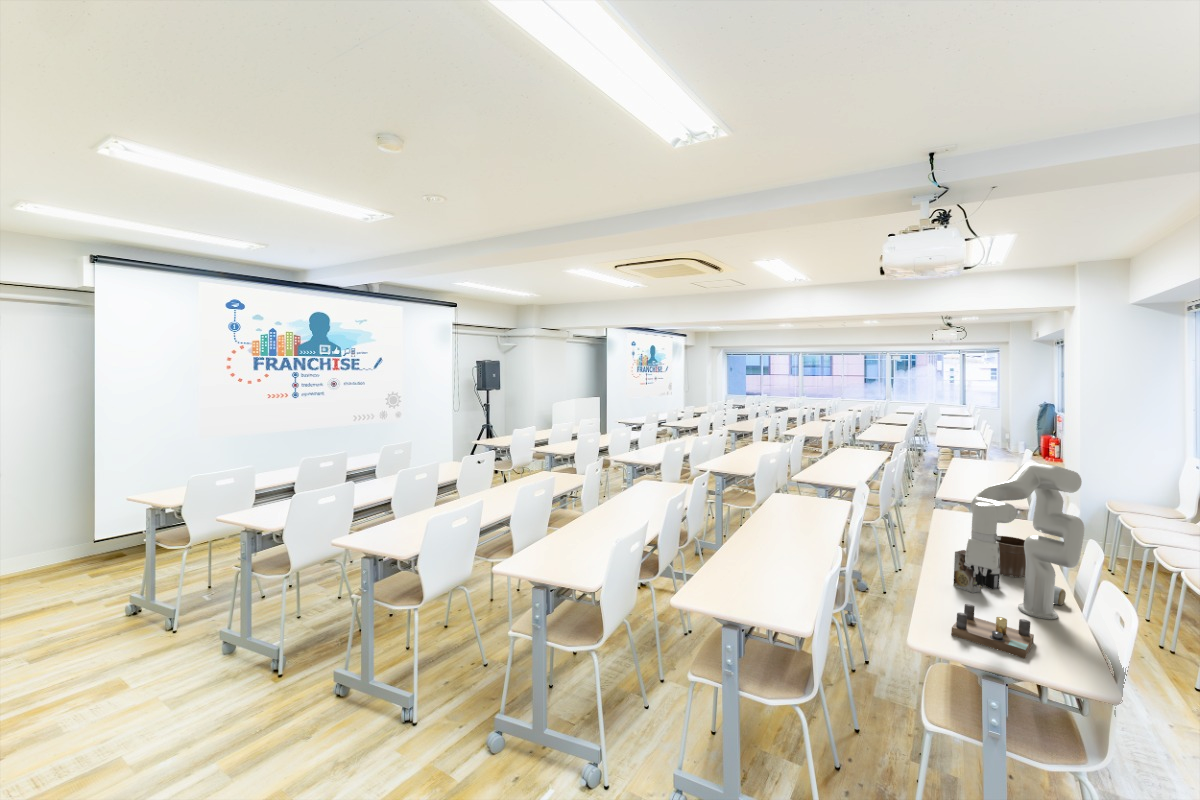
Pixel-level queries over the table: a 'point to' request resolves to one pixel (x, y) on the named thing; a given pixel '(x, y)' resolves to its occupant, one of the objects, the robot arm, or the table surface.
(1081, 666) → the table surface
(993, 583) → the camera
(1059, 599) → the ceramic mug
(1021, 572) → the plant pot
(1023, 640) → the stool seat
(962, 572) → the coffee box
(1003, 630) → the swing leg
